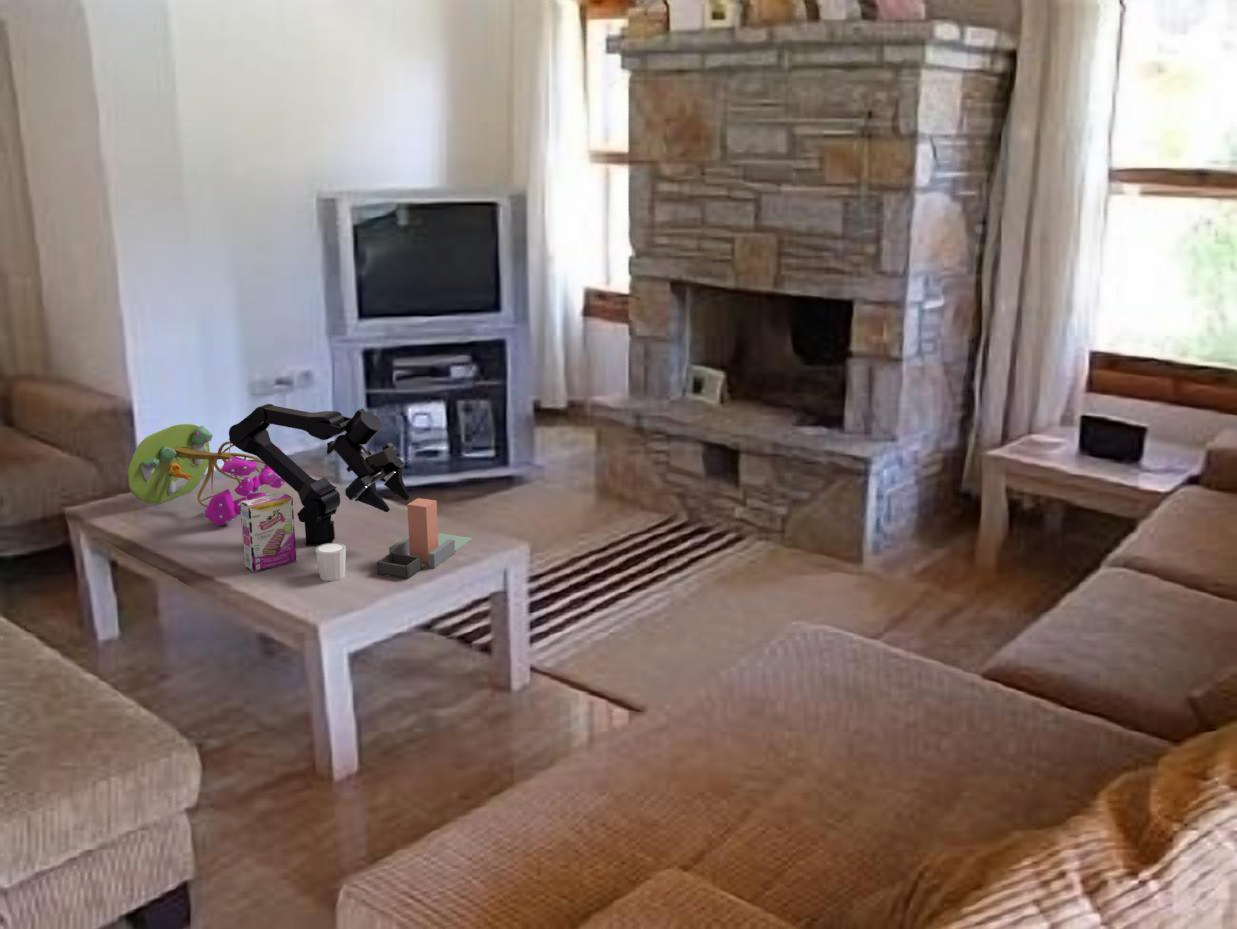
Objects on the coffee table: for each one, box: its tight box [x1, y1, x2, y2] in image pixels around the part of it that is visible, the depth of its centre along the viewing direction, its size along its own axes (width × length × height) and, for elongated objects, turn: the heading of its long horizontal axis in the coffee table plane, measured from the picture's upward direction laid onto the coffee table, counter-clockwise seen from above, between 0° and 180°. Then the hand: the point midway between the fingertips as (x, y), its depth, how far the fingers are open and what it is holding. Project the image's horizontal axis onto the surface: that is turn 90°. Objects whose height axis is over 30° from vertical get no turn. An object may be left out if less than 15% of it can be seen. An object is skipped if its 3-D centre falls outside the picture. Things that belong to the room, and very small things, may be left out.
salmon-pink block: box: [407, 497, 439, 564], centre depth 276 cm, size 5×5×14 cm
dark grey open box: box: [376, 553, 423, 580], centre depth 269 cm, size 8×6×3 cm
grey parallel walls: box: [388, 534, 456, 569], centre depth 277 cm, size 12×10×4 cm
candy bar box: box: [240, 492, 297, 573], centre depth 270 cm, size 11×5×16 cm, turn 133°
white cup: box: [314, 542, 347, 582], centre depth 265 cm, size 7×7×7 cm
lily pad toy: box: [127, 423, 286, 527], centre depth 306 cm, size 30×28×35 cm
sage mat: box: [438, 532, 474, 552], centre depth 287 cm, size 10×9×1 cm
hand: (398, 505), depth 276 cm, fingers open, 9 cm apart
